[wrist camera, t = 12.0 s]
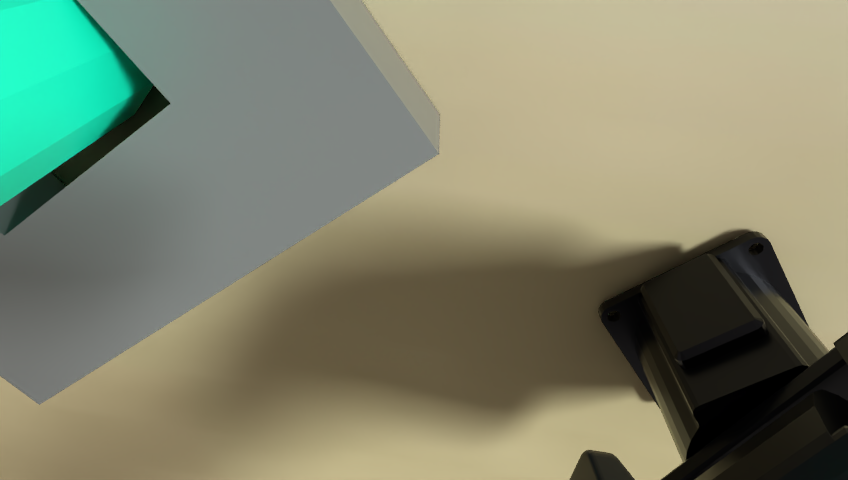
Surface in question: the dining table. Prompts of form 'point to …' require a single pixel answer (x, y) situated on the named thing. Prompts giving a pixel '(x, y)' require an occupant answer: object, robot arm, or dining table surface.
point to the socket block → (204, 173)
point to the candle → (57, 87)
